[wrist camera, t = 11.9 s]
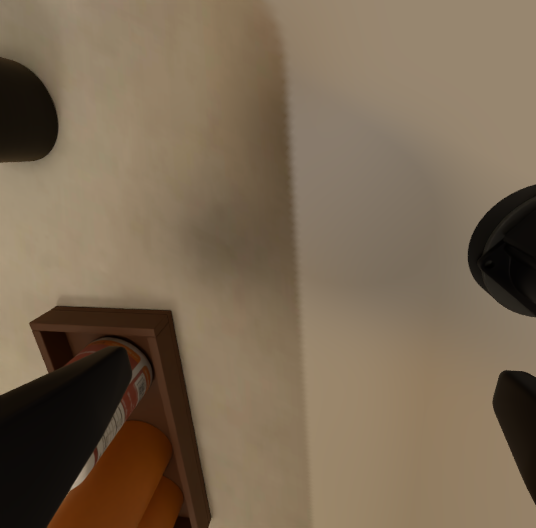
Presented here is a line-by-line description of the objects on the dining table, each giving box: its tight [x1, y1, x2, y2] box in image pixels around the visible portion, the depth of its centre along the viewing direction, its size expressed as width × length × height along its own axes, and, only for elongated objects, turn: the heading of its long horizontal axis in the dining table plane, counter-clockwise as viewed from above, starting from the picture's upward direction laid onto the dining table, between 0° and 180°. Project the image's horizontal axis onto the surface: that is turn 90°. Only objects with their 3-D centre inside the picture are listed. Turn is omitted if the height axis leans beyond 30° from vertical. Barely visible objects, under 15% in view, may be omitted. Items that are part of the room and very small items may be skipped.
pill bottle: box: [63, 337, 152, 490], centre depth 20 cm, size 6×6×11 cm
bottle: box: [47, 420, 172, 528], centre depth 24 cm, size 6×6×11 cm
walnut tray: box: [29, 306, 211, 528], centre depth 28 cm, size 26×10×3 cm, turn 3°
